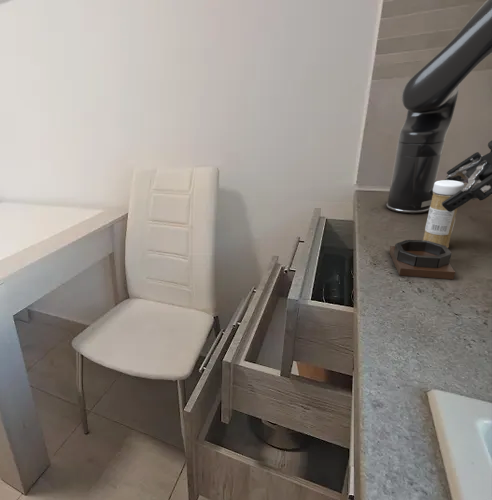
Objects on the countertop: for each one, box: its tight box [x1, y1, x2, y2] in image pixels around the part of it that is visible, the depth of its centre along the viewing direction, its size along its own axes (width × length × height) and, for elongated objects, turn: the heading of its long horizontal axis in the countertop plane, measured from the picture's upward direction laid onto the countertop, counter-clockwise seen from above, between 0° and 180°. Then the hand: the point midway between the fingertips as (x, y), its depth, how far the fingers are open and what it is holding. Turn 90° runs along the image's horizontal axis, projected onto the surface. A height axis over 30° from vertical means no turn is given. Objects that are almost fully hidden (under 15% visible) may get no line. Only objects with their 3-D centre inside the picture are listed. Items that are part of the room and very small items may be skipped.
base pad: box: [389, 239, 456, 280], centre depth 69 cm, size 10×8×4 cm
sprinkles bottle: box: [422, 179, 465, 249], centre depth 73 cm, size 5×5×13 cm
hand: (438, 201), depth 73 cm, fingers open, 8 cm apart
